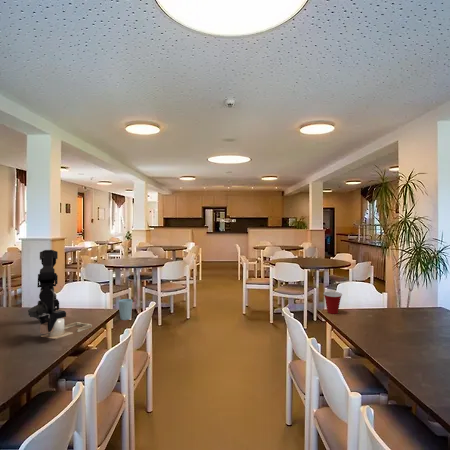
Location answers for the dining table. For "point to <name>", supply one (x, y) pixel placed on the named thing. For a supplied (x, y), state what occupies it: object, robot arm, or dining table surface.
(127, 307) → the cup
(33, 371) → the dining table surface
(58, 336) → the coaster
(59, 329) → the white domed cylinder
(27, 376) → the dining table surface
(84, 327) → the beige u-shaped bar frame
